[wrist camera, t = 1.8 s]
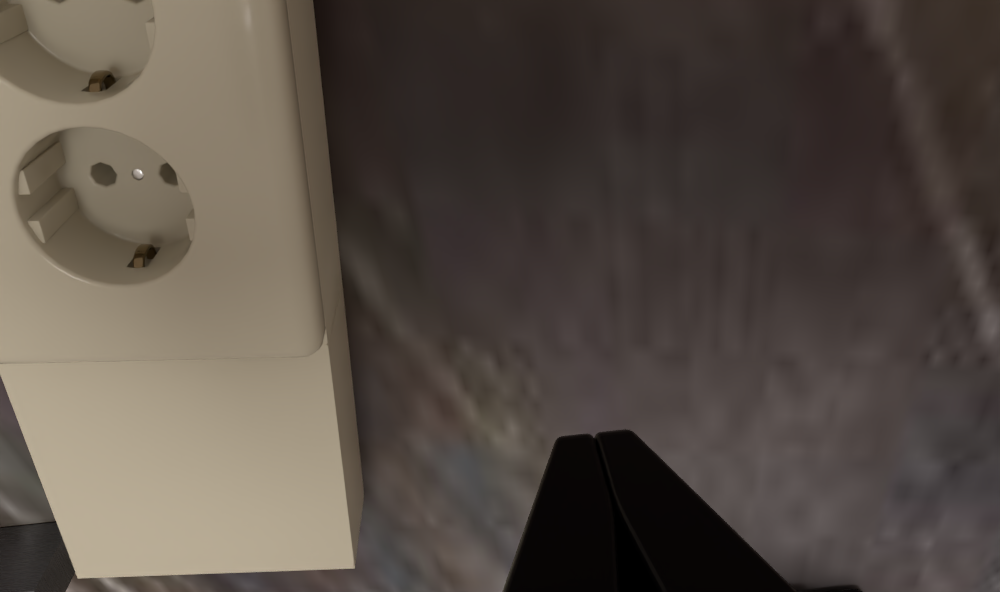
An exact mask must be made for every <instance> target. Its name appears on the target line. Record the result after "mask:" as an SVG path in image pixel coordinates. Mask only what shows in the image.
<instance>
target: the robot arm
mask: <svg viewBox="0 0 1000 592" xmlns="http://www.w3.org/2000/svg"><path fill="white" fill-rule="evenodd" d="M503 592H797V591H796V590H795V589H794V588H793V587H792V586H791V585H790V584H789V583H788V582H787V581H786V580H785V579H784V578H783V577H782V576H780V575H779V574H778V573H777V572H776V571H775V570H774V569H773V568H772V567H771V566H770V565H769V564H768V563H767V562H766V561H765V560H764V559H763V558H762V557H761V556H760V555H759V554H758V553H757V552H756V551H755V550H754V549H753V548H752V547H751V546H750V545H749V544H748V543H747V542H746V541H745V540H744V539H743V538H742V537H741V536H740V535H738V534H737V533H736V532H735V531H734V530H733V529H732V528H731V527H730V526H729V525H728V524H727V523H726V522H725V521H724V520H723V519H722V518H721V517H720V516H719V515H718V514H717V513H716V512H715V511H714V510H713V509H712V508H711V507H710V506H709V505H708V504H707V503H706V502H705V501H704V500H703V499H702V498H701V497H700V496H699V495H698V494H696V493H695V492H694V491H693V490H692V489H691V488H690V487H689V486H688V485H687V484H686V483H685V482H684V481H683V480H682V479H681V478H680V477H679V476H678V475H677V474H676V473H675V472H674V471H673V470H672V469H671V468H670V467H669V466H668V465H667V464H666V463H665V462H664V461H663V460H662V459H661V458H660V457H659V456H658V455H657V454H656V453H654V452H653V451H652V450H651V449H650V448H649V447H648V446H647V445H646V444H645V443H644V442H643V441H642V440H641V439H640V438H639V437H638V436H637V435H636V434H635V433H634V432H632V431H630V430H616V431H607V432H599V433H598V434H596V436H595V438H593V436H592V435H590V434H579V435H569V436H561V437H559V438H558V439H557V440H556V441H555V443H554V446H553V449H552V452H551V455H550V458H549V460H548V463H547V466H546V469H545V472H544V475H543V478H542V480H541V483H540V486H539V489H538V492H537V495H536V498H535V500H534V503H533V506H532V509H531V512H530V515H529V517H528V520H527V523H526V526H525V529H524V532H523V535H522V537H521V540H520V543H519V546H518V549H517V552H516V555H515V557H514V560H513V563H512V566H511V569H510V572H509V575H508V577H507V580H506V583H505V586H504V589H503ZM832 592H862V591H860V590H858V589H851V590H841V591H832Z"/></svg>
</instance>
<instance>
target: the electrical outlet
mask: <svg viewBox="0 0 1000 592" xmlns="http://www.w3.org/2000/svg"><path fill="white" fill-rule="evenodd" d="M0 375H1V378H2V380H3V383H4V385H5V388H6V391H7V393H8V396H9V399H10V401H11V404H12V406H13V409H14V412H15V414H16V417H17V420H18V422H19V425H20V428H21V430H22V433H23V435H24V438H25V441H26V443H27V446H28V449H29V451H30V454H31V456H32V459H33V462H34V464H35V467H36V470H37V472H38V475H39V478H40V480H41V483H42V485H43V488H44V491H45V493H46V496H47V499H48V501H49V504H50V507H51V509H52V512H53V514H54V517H55V520H56V522H57V525H58V528H59V530H60V533H61V535H62V538H63V541H64V543H65V546H66V549H67V551H68V554H69V557H70V559H71V562H72V564H73V567H74V570H75V572H76V575H77V578H103V577H130V576H158V575H186V574H213V573H241V572H269V571H296V570H324V569H352V568H355V563H356V555H357V547H358V539H359V531H360V523H361V515H362V508H363V500H364V488H363V478H362V469H361V459H360V449H359V440H358V430H357V420H356V411H355V401H354V391H353V382H352V372H351V362H350V353H349V343H348V333H347V324H346V314H345V304H344V295H343V285H342V275H341V266H340V256H339V246H338V237H337V227H336V217H335V208H334V198H333V188H332V179H331V169H330V159H329V150H328V140H327V130H326V121H325V111H324V101H323V92H322V82H321V72H320V63H319V53H318V43H317V34H316V24H315V14H314V5H313V0H0Z"/></svg>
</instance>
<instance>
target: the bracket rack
mask: <svg viewBox="0 0 1000 592" xmlns="http://www.w3.org/2000/svg"><path fill="white" fill-rule="evenodd" d="M74 573H75V570H74V567H73V564H72V562H71V559H70V557H69V554H68V551H67V549H66V546H65V543H64V541H63V538H62V535H61V533H60V530H59V528H58V525H57V522H54V523H44V524H35V525H26V526H16V527H7V528H0V592H65V591H66V589H67V587H68V585H69V583H70V581H71V579H72V577H73V575H74Z"/></svg>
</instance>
